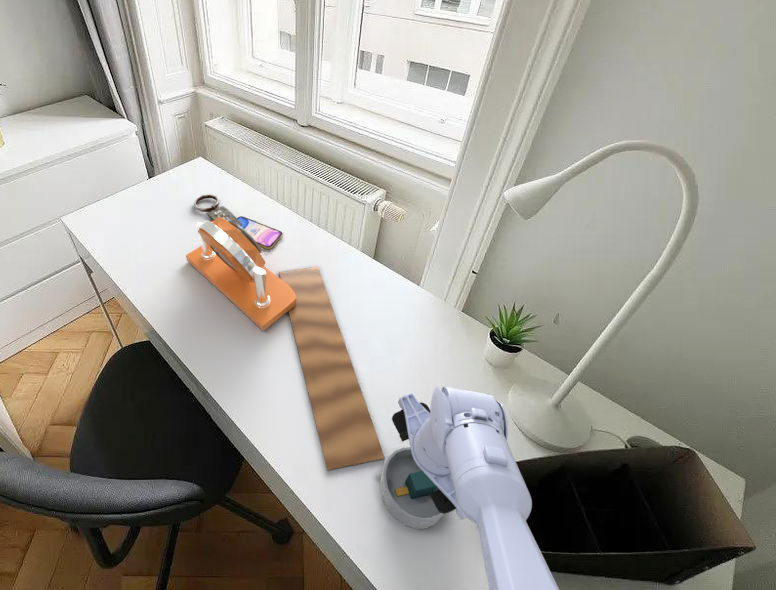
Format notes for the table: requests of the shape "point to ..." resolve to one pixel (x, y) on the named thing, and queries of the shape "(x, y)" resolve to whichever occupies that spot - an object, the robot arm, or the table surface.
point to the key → (416, 485)
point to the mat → (330, 375)
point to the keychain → (216, 210)
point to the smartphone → (261, 232)
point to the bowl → (403, 507)
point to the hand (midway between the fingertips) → (421, 464)
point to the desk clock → (240, 271)
